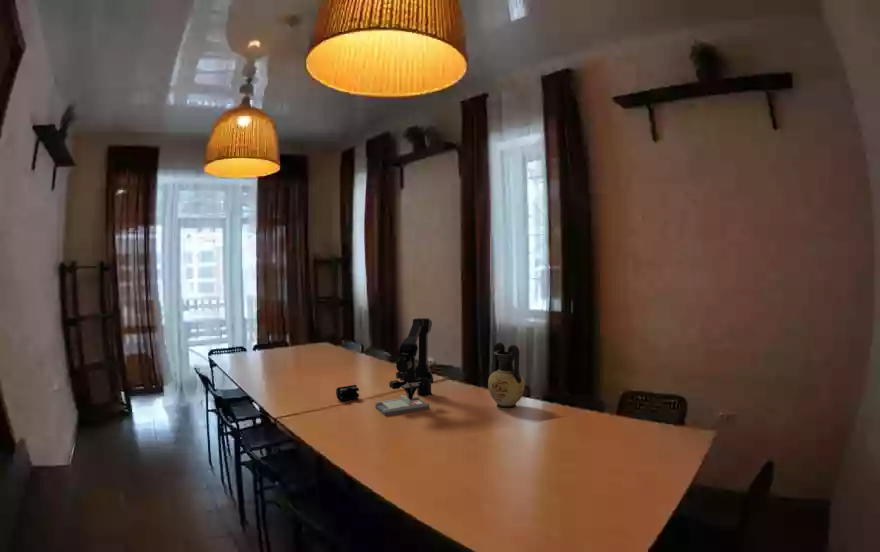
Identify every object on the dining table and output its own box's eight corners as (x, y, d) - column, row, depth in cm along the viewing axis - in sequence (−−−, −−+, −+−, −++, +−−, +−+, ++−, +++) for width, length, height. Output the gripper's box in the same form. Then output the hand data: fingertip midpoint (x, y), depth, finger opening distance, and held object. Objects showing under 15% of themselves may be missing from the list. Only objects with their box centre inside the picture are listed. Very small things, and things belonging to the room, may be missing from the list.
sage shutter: (403, 401, 247) (403, 394, 247) (412, 406, 237) (412, 400, 236) (382, 404, 242) (381, 397, 242) (389, 410, 232) (389, 403, 232)
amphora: (532, 406, 239) (531, 343, 238) (511, 415, 227) (510, 348, 226) (502, 400, 251) (500, 339, 250) (480, 407, 239) (479, 344, 238)
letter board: (418, 401, 252) (418, 396, 251) (429, 408, 239) (429, 403, 239) (375, 407, 242) (375, 402, 242) (384, 415, 230) (384, 409, 230)
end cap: (354, 396, 264) (354, 383, 264) (359, 399, 258) (359, 386, 258) (336, 399, 259) (335, 386, 258) (341, 402, 253) (340, 389, 252)
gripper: (421, 363, 253) (421, 394, 253) (385, 367, 245) (386, 399, 246) (429, 367, 243) (430, 399, 243) (392, 371, 235) (393, 405, 235)
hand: (410, 400), depth 242 cm, fingers closed
